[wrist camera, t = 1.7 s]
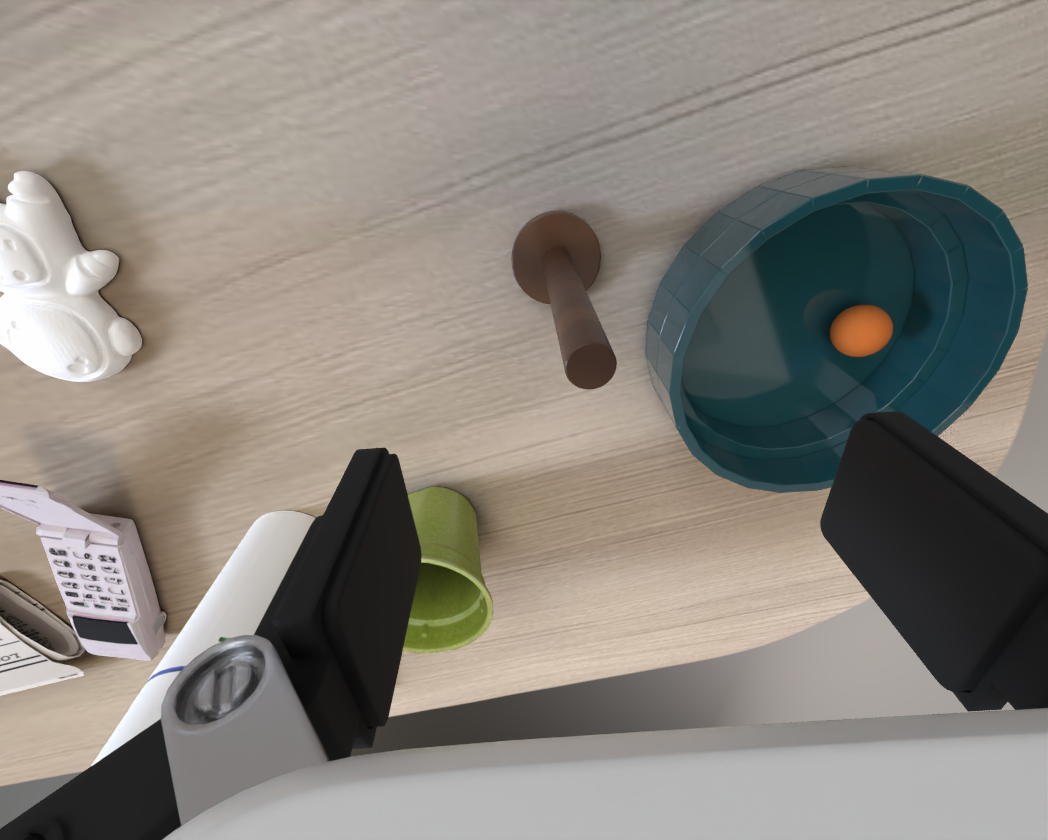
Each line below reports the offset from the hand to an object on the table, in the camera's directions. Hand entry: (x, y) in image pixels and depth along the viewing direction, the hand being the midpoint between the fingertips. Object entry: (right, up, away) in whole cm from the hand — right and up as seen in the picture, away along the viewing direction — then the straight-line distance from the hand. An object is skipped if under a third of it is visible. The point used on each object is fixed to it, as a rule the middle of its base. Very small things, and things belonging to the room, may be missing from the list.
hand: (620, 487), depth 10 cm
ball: (+18, +7, +18) cm, 26 cm away
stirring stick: (0, +11, +17) cm, 20 cm away
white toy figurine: (-29, +10, +17) cm, 35 cm away
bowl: (+14, +7, +19) cm, 25 cm away
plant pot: (-9, -6, +27) cm, 29 cm away
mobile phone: (-36, -10, +29) cm, 47 cm away
